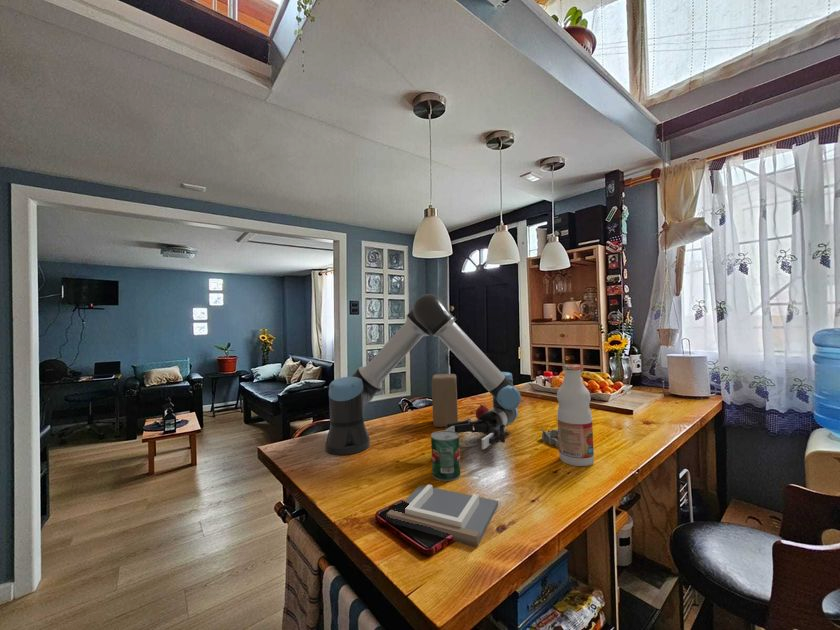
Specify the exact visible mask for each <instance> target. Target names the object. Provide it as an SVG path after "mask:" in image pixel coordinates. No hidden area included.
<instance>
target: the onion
mask: <svg viewBox="0 0 840 630" xmlns="http://www.w3.org/2000/svg"><path fill="white" fill-rule="evenodd" d="M489 410H490V409H489V408H488V407H486V406H485V405H484V404H483V403H480V405H479V406H478V407H477V409H476V411H475V417H476V419H477V420H478V419H479V417H480V416H481V415H482V414H484V413H486V412H487V411H489Z"/></svg>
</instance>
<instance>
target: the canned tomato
mask: <svg viewBox="0 0 840 630" xmlns="http://www.w3.org/2000/svg"><path fill="white" fill-rule="evenodd" d="M430 444H431V445H430V446H431V467H432V468H431V473H432V475H431V476H432V477H433V479H436V480H437V481H441V482H450V481H451V482H452V481H455V480H457V479H459V478H460V477H461V456H460V455H461V454H460V453H461V452H460V433H457V432H454V431H444V430H439V431H434V432H432V433H431V434H430Z"/></svg>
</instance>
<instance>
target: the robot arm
mask: <svg viewBox="0 0 840 630" xmlns="http://www.w3.org/2000/svg"><path fill="white" fill-rule="evenodd" d="M405 319H406V321H405V322H404V323H403V325H402V326H400V328H399V329H398V330H397V331H396V333H394V334H393V336H392V337H391V338H390V339H389V340H388V341H386V342H387V343H385V344H384V346H383V347H382V348H381V349H380V350H379V351H378V352H377V353H376V355H375V356H373V358H372V359H371V360H370V361H369V362H368V363H367V365H366V366H359V367H358V369H357V370H356V371H355V372H354V373H353V374H352V375H351V376H343V377H340V378H336V379H334V380H332V381H331V382H330V383H329V386H328V400H329V422H330V423H329V430H328V434H327V437H326V440H325V451H326V452H327V453H328V454H331V455H335V456H337V455H338V456H339V455H340V456H346V455H352V454H353V455H354V454H357V453H361V452H364V451H365V450H367V449H368V448H369V447H370V446H371V440H370V439H371V438H370V436H369V434H368V430H367V428H366V425H365V414H364V413H365V409H364V407H365V406H366V405H367V404H369V403H370V402H371V401H372V400H373V399H374V397H375V396H376V394H377V393H378V392H379V391H380V390H381V389H382V387H383V383H382V382H383V381H384V380H385V379H386V377H388V376H389V374H390V373H391V372H392V371H394V369H395V368H396V367H397V365H398V364H399V363H401V362H402V360H403V359H404V358H405V357H406V356H407V355H408V353H410V352H411V350H412V349H413V348H414V347H415V346H416V344H417V343H419V342H420V340H421V339H422V338H423V337H430V335H432V337H437V338H438V339H439V340H440V341H441V342H442V343H443V344H444V345H445V346H446V347H447V348H448V349H449V350H450V352H452V353H453V354H454V356H455V357H456V358H457V359H458V360H459V361H460V362H461V363H462V365H464V367H466V369H468V371H469V372H470V373H471V374H472V375H473V377H474V378H476V380H478V381H479V383H480V384H481V385H482V386H483V387H484V388H485V389H486V390H487V391H488V393H489V394H490V395H492V408H491V409H488V410H489V411H487V412H486V413H484V414H482V415H481V416H480V417H479V419H477V420H472V419H470V418H468V419H465V420H461V421H458V422H455V423H449V424H447V427H446V429H445V430H443V431H454V432H457V433H458V434H460V433H462V434H463V433H469V432H470V433H472V434H474V433H479V434H480V433H481V434H482V433H483V434H485V435H486V436H484V437H483V438H481V440H480V441H481V449H482V450H485V449H486V448H488V447H489V446H490V445H494V444H495V443H499V442H501V443H506V427H507V426H509V425H512V423H514V422H515V420H517V418H518V415H519V410H518V407H519V405H520V404H521V402H522V396H521V392H520V391H519V390H518V388H517V387H516V386H515V385H514V383H513V382H514V380H513V373H512V372H509V371H501V370H500V369H499V368H498V367H497V366H496V365H495V364H494V363H493V362H492V361H491V359H489V357H488V356H487V355H486V354H485V353H484V352H483V351H482V350H481V349H480V348H479V347H478V346H477V345H476V343H475V342H474V341H473V340H472V339H471V338H470V337H469V336H468V334H467V333H465V331H464V330H463V329H462V328H461V327H460V326H459V325H458V324H457V323H456V322H455V317H454V316H453V314H452V313H451V312H450V311H449V309H448V308H447V306H446V303H445V301H443V299H442V298H440V297H439V296H438V295H435V294H431V293H426V294H424V295H421V296H419V297H418V298H417V299H416V300H415V302H414V303H413V307H412V309H411V310H410V311H409V312H408V313H407V314H406V318H405Z"/></svg>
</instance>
